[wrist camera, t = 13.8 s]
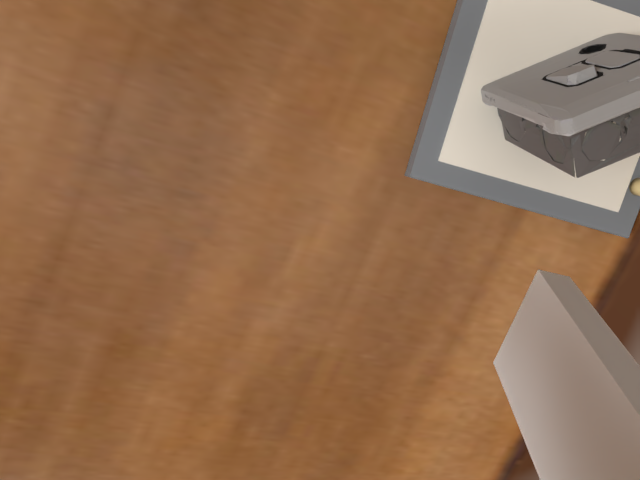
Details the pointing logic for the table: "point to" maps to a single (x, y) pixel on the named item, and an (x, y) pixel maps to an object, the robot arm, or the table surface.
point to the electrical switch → (575, 105)
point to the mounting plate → (484, 122)
